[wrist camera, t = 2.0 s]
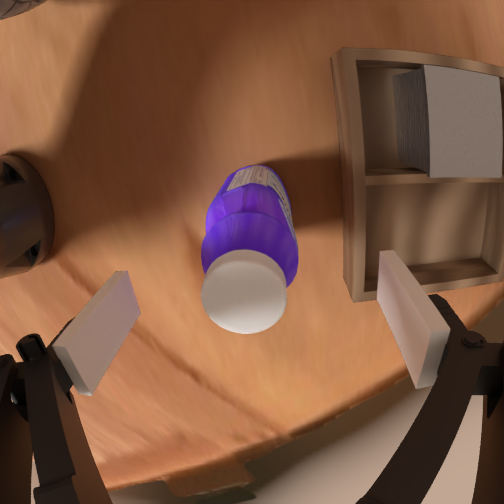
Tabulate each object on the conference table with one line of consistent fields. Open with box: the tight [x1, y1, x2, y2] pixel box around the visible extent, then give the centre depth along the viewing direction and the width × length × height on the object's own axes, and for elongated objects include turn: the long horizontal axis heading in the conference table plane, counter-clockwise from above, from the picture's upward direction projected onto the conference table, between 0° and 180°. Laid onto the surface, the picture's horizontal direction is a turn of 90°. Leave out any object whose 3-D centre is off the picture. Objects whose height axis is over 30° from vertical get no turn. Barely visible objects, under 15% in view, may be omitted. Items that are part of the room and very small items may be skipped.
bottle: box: [201, 165, 298, 334], centre depth 23 cm, size 7×6×17 cm
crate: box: [330, 48, 504, 303], centre depth 26 cm, size 18×22×5 cm
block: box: [392, 65, 503, 178], centre depth 22 cm, size 7×8×7 cm
